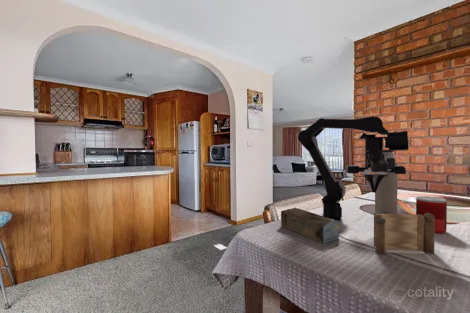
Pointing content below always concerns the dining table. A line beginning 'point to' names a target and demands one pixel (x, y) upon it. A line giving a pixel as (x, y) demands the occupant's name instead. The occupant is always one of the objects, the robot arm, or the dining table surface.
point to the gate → (402, 231)
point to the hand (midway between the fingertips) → (373, 192)
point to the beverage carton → (310, 224)
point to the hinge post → (429, 233)
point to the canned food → (433, 211)
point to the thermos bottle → (387, 191)
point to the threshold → (403, 251)
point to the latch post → (380, 235)
